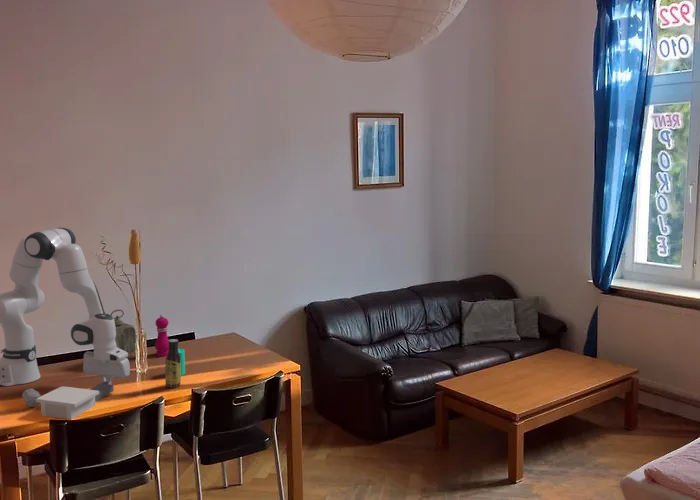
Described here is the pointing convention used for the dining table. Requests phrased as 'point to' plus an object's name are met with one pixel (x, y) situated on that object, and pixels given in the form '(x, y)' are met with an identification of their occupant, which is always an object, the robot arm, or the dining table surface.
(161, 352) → the pepper mill
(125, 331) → the tabletop clock
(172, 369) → the sauce bottle
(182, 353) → the candle
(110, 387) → the blue-grey bar
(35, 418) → the dining table surface
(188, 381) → the dining table surface
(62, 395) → the box with flat lid
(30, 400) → the frog figurine
